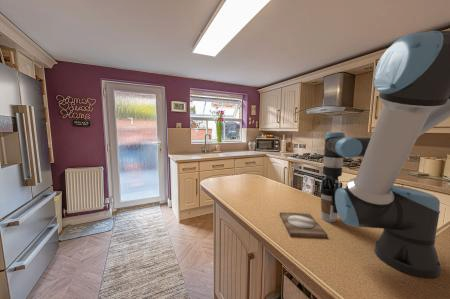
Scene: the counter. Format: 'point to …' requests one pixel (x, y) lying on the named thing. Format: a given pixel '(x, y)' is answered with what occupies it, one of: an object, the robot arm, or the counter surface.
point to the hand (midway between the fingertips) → (328, 214)
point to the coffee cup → (326, 204)
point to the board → (302, 225)
